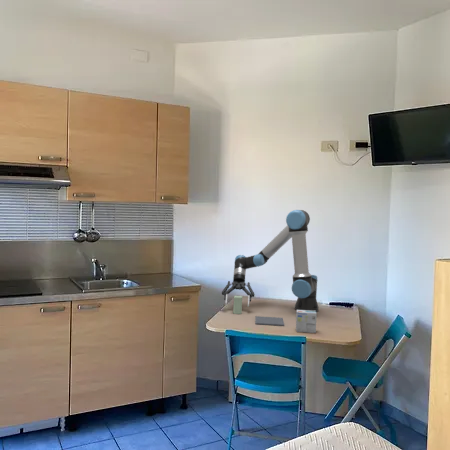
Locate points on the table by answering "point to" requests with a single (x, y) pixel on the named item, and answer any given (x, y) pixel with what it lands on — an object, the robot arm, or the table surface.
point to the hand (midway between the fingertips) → (237, 304)
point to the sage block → (237, 305)
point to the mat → (269, 321)
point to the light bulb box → (306, 321)
